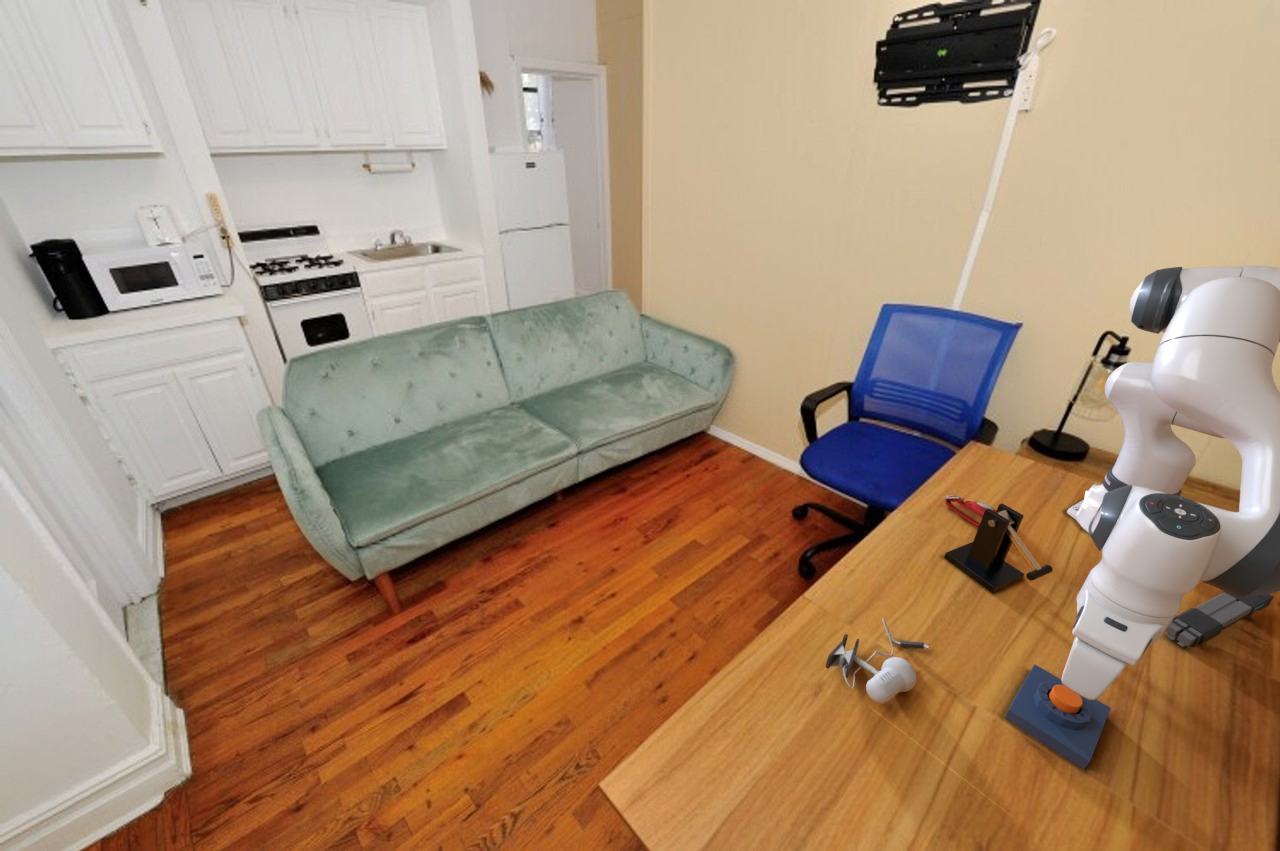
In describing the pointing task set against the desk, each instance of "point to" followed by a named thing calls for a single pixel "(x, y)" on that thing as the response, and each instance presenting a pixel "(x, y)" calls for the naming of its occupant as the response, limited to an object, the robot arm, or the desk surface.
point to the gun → (1213, 617)
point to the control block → (1057, 718)
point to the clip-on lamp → (885, 682)
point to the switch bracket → (989, 551)
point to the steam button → (1065, 699)
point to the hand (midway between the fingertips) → (1081, 673)
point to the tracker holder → (967, 507)
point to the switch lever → (1025, 552)
